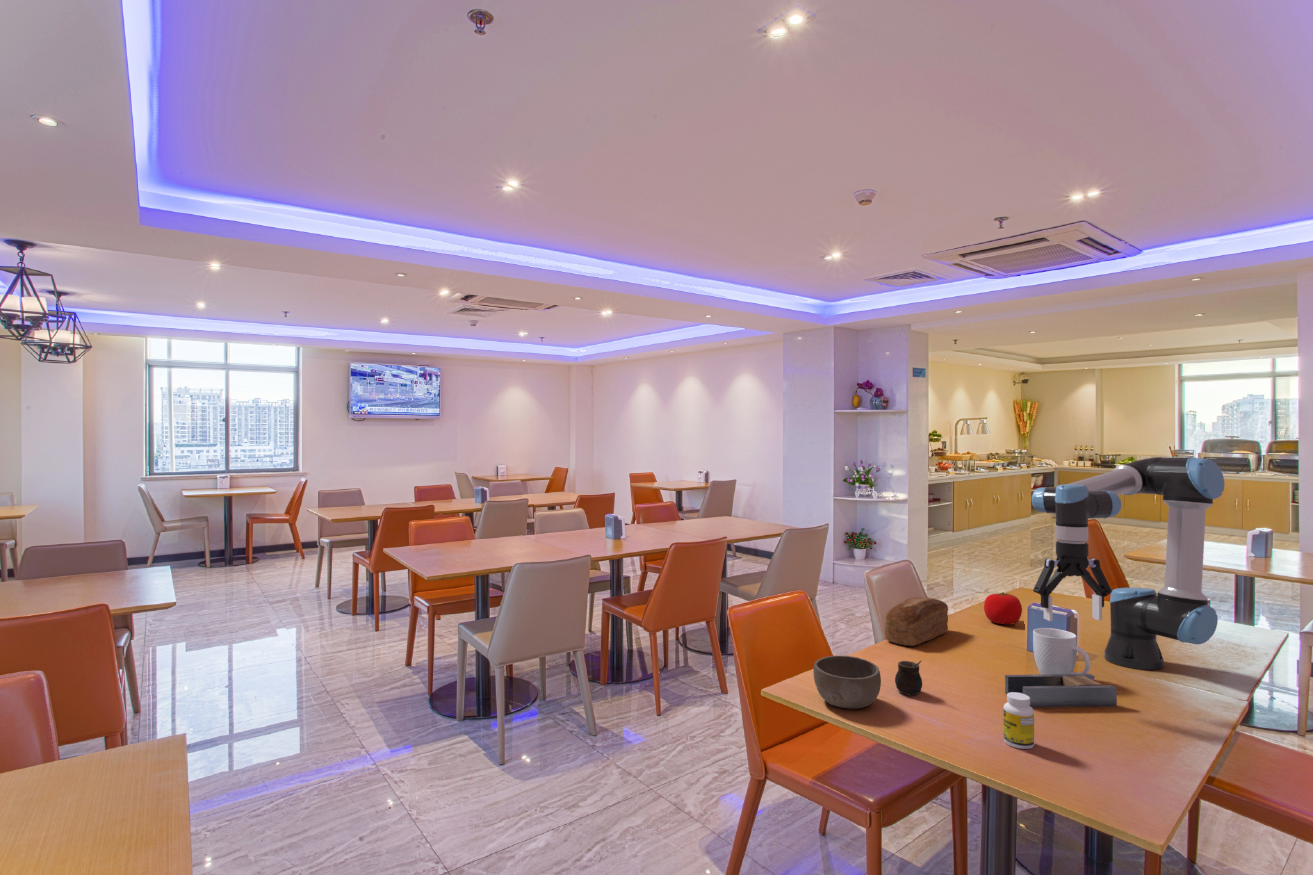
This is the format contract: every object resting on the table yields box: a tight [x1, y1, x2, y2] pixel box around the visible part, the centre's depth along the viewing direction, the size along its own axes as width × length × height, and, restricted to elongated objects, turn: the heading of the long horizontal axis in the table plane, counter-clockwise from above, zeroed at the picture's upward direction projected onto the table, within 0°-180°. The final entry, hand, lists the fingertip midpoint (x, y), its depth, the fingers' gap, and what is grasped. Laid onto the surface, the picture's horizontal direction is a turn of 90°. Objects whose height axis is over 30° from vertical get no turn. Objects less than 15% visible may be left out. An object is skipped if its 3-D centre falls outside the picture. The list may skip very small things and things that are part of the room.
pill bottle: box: [1003, 692, 1035, 750], centre depth 151 cm, size 6×6×11 cm
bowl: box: [812, 655, 882, 710], centre depth 176 cm, size 17×18×10 cm
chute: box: [1004, 673, 1118, 709], centre depth 177 cm, size 24×10×5 cm, turn 91°
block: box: [1063, 676, 1101, 686], centre depth 177 cm, size 6×6×4 cm
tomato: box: [983, 592, 1023, 626], centre depth 251 cm, size 13×14×12 cm
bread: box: [884, 596, 949, 647], centre depth 234 cm, size 12×31×14 cm, turn 132°
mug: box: [1032, 627, 1091, 675], centre depth 192 cm, size 15×11×13 cm
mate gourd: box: [894, 660, 923, 696], centre depth 182 cm, size 7×8×10 cm
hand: (1072, 619), depth 178 cm, fingers open, 13 cm apart
